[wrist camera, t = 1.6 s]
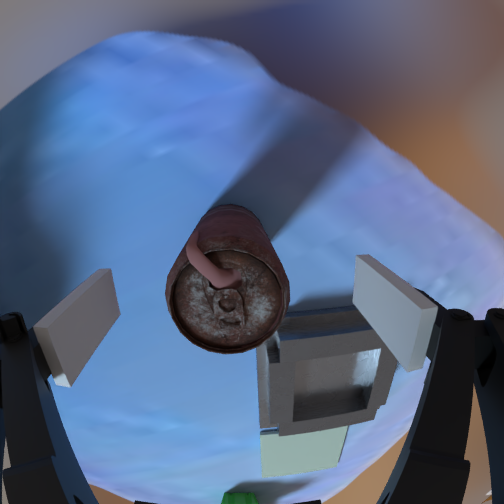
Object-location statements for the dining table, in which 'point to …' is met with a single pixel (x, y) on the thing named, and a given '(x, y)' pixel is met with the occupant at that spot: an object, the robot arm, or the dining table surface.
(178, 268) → the can
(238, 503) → the fruit basket
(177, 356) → the dining table surface
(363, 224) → the dining table surface
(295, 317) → the socket block
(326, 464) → the mat
